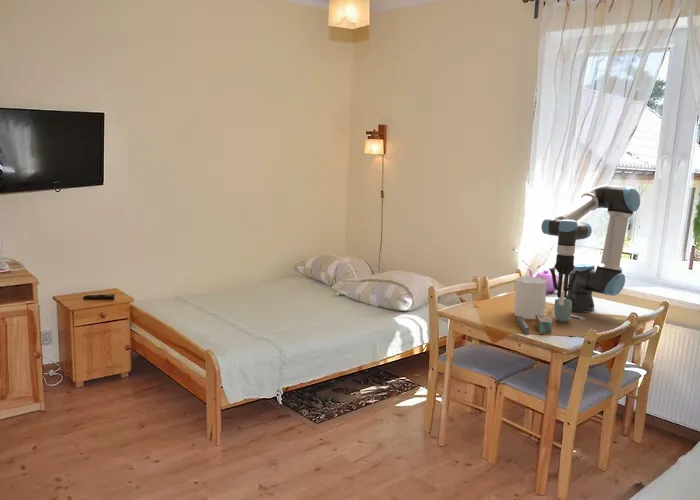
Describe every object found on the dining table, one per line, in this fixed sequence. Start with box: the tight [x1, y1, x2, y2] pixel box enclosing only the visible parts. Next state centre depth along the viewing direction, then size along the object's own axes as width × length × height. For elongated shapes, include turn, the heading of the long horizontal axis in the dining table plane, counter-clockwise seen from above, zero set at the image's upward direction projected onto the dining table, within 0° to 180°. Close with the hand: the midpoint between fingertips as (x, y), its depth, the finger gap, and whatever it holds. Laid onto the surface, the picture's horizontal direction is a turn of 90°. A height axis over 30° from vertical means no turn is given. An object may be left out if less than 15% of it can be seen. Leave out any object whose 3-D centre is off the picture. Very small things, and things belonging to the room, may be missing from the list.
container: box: [513, 276, 547, 320], centre depth 304 cm, size 14×14×18 cm
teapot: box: [527, 268, 559, 295], centre depth 350 cm, size 20×14×12 cm
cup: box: [553, 298, 572, 323], centre depth 296 cm, size 8×8×10 cm
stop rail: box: [517, 316, 530, 335], centre depth 284 cm, size 2×18×3 cm, turn 175°
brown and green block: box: [534, 314, 553, 334], centre depth 283 cm, size 5×5×11 cm
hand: (561, 304), depth 281 cm, fingers closed
